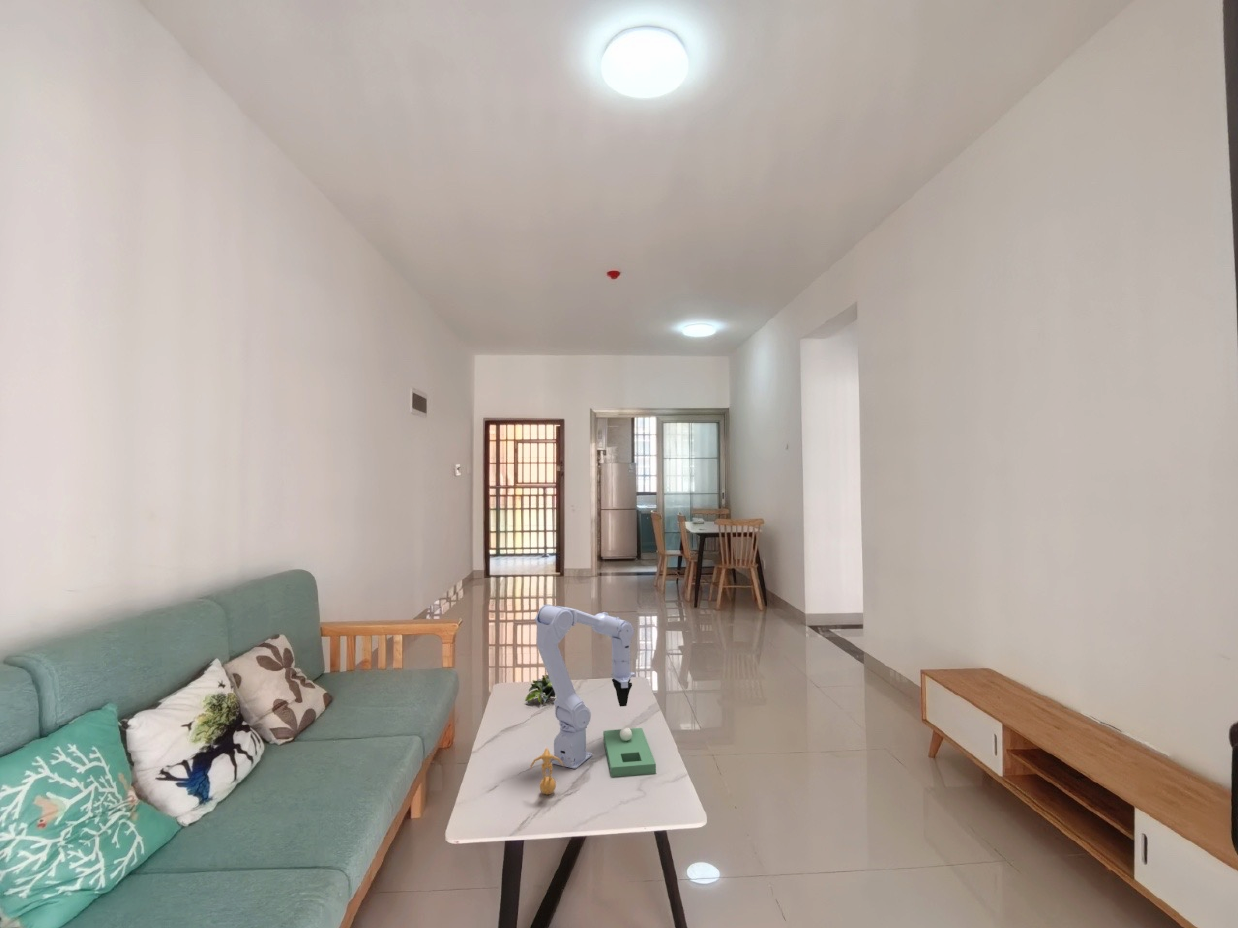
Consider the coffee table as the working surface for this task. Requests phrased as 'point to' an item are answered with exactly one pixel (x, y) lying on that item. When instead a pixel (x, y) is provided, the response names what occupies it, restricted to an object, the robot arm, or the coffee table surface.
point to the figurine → (547, 782)
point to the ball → (625, 734)
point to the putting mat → (628, 753)
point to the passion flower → (541, 689)
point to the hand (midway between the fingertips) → (622, 704)
